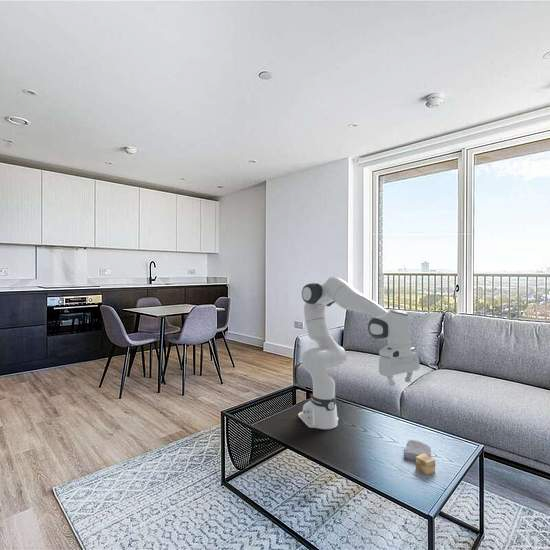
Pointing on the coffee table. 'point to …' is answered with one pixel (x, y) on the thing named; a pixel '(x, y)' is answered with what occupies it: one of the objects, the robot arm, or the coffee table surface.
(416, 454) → the stone block
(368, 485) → the coffee table surface
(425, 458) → the oak cube
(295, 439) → the coffee table surface
